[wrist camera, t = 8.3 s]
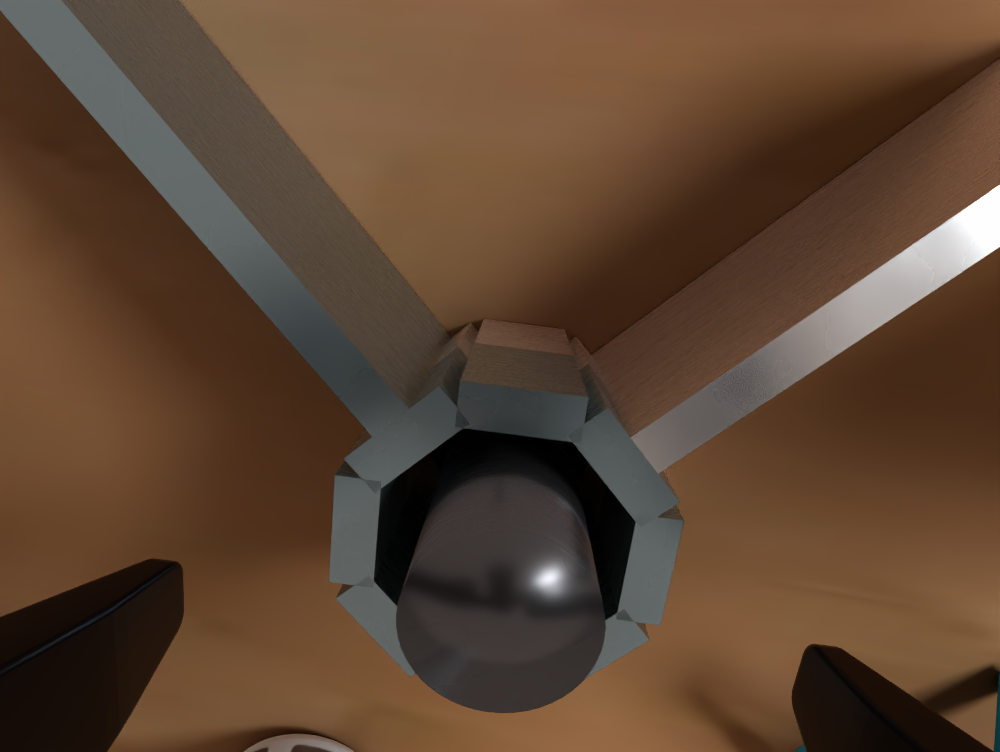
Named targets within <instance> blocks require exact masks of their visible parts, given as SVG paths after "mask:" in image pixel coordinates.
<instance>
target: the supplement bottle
mask: <svg viewBox="0 0 1000 752" xmlns="http://www.w3.org/2000/svg"><path fill="white" fill-rule="evenodd" d="M244 752H355V751H353V750H352V749H350V748H348V747H347V746H345V745H343V744H341V743H339V742H336V741H334V740H331V739H328V738H325V737H321V736H316V735H309V734H287V735H280V736H275V737H272V738H268V739H265V740H263V741H260V742H258V743H256V744H255V745H253V746H251V747H249V748H248V749H247V750H245V751H244Z"/></svg>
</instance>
